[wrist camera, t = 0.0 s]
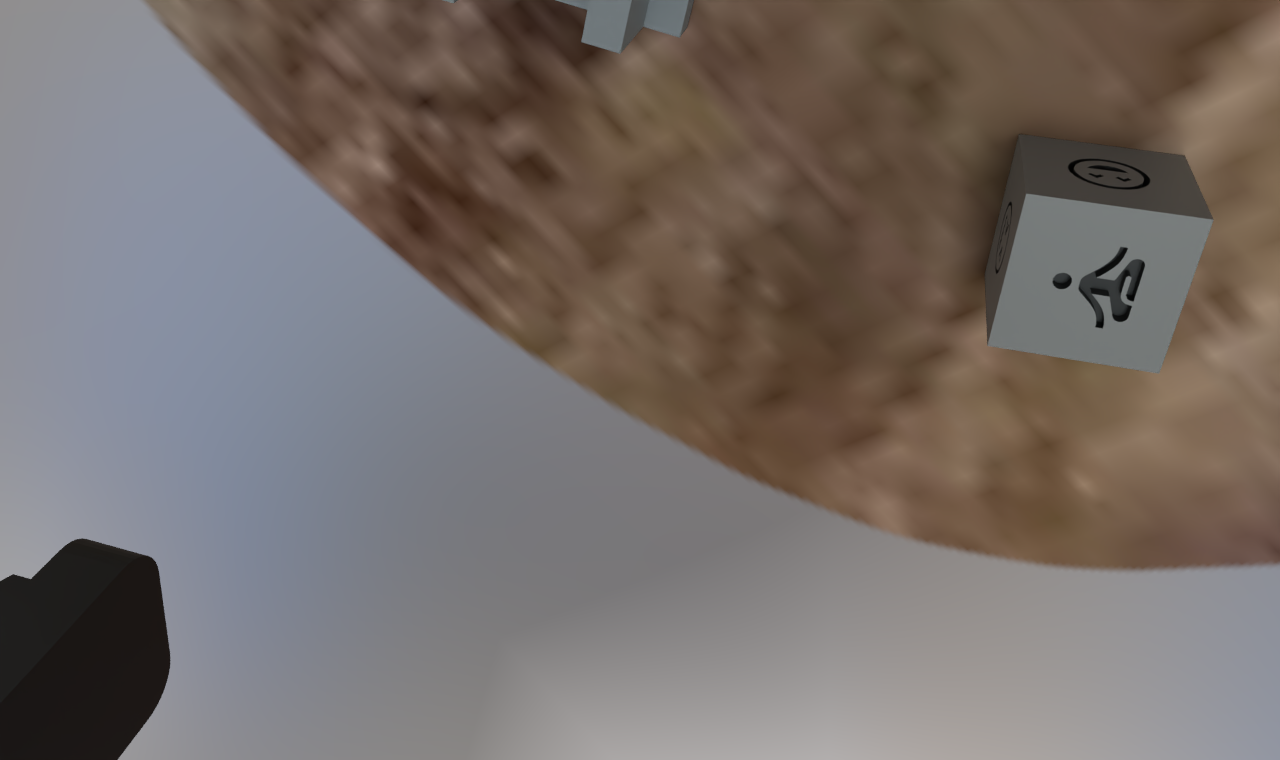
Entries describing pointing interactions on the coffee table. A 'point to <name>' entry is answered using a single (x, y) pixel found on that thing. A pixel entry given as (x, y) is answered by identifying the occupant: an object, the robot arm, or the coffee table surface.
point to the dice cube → (1093, 252)
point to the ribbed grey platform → (629, 19)
